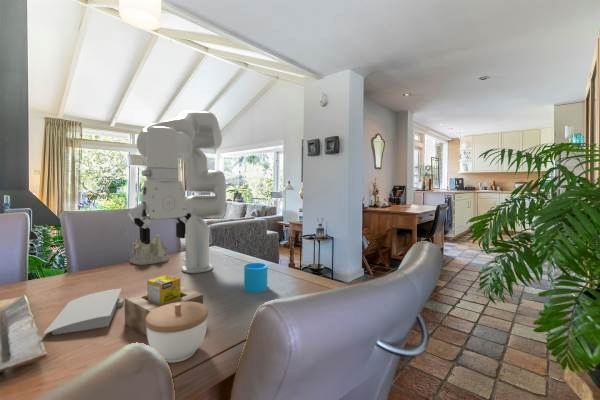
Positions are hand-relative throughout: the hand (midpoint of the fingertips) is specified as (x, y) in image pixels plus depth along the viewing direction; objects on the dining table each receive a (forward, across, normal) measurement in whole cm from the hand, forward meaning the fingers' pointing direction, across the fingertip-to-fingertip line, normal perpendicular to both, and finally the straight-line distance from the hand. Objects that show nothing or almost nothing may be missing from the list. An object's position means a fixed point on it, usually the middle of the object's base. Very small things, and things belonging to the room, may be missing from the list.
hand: (164, 240), depth 78 cm
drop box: (+22, 0, 0) cm, 22 cm away
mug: (+22, +34, 0) cm, 41 cm away
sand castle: (+23, +29, +64) cm, 74 cm away
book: (+23, -10, +19) cm, 32 cm away
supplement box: (+22, 0, 0) cm, 22 cm away
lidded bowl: (+22, -6, -16) cm, 28 cm away
